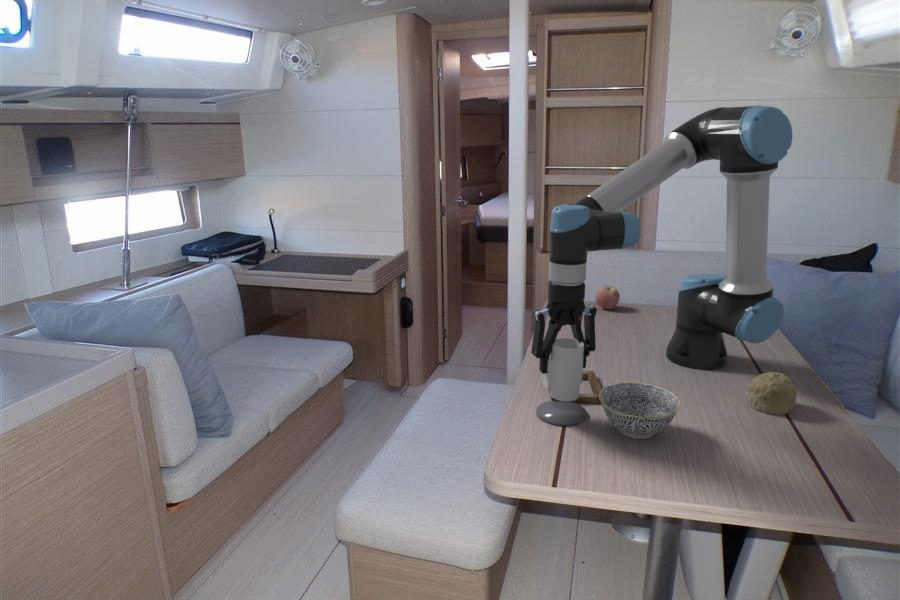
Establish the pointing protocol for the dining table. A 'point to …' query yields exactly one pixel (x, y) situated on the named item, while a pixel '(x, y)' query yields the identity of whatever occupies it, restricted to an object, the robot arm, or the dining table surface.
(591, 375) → the holder
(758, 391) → the decorative object
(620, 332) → the dining table surface
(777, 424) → the dining table surface
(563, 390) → the mug
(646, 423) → the bowl
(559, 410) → the coaster
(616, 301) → the apple
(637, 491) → the dining table surface
